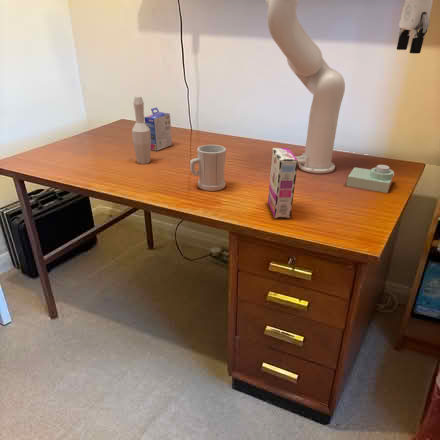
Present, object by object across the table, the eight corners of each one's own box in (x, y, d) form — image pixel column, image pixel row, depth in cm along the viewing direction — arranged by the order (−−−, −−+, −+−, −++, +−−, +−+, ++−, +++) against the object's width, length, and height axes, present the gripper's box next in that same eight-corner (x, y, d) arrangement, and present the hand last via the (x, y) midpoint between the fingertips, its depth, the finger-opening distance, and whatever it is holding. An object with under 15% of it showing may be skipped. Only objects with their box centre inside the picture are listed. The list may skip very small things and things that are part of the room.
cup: (213, 195, 134) (213, 156, 127) (188, 189, 138) (187, 151, 131) (230, 184, 141) (231, 147, 134) (207, 179, 145) (206, 142, 138)
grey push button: (374, 172, 138) (375, 167, 137) (376, 169, 141) (377, 163, 140) (387, 175, 137) (388, 169, 136) (389, 171, 140) (390, 165, 139)
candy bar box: (292, 218, 120) (298, 159, 111) (274, 219, 120) (279, 160, 111) (283, 202, 130) (289, 146, 120) (267, 203, 129) (271, 147, 120)
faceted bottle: (135, 164, 156) (128, 98, 143) (134, 159, 161) (128, 95, 149) (153, 163, 157) (148, 98, 145) (151, 158, 162) (146, 94, 150)
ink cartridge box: (162, 143, 179) (159, 105, 171) (172, 145, 176) (170, 107, 168) (146, 148, 172) (143, 110, 164) (157, 151, 170) (154, 111, 161)
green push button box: (346, 185, 141) (348, 170, 139) (352, 176, 149) (355, 161, 146) (387, 193, 137) (391, 177, 134) (392, 182, 144) (395, 168, 141)
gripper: (398, -16, 133) (385, 48, 143) (424, -17, 119) (407, 54, 129) (422, -16, 134) (407, 48, 143) (450, -16, 119) (432, 54, 129)
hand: (407, 51), depth 136 cm, fingers open, 9 cm apart
